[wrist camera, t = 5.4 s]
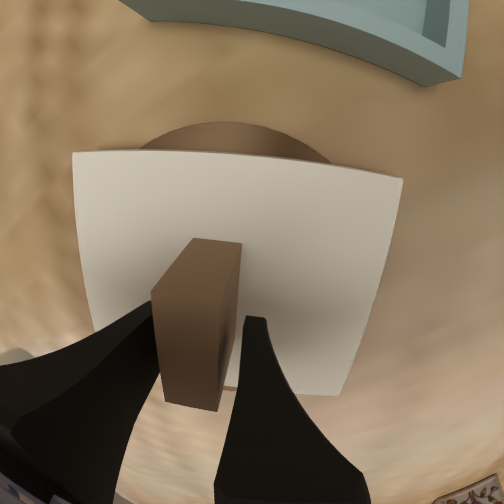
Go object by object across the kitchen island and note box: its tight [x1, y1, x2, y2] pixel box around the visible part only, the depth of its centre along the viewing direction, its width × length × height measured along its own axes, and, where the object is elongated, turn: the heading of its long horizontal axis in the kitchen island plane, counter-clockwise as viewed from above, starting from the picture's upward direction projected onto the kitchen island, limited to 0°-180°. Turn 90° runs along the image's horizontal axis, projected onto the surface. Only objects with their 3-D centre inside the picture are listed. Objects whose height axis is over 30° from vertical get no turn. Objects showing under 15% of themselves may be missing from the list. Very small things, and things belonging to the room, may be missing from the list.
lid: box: [73, 149, 403, 412], centre depth 11 cm, size 13×11×6 cm
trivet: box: [140, 122, 374, 391], centre depth 14 cm, size 14×14×1 cm
